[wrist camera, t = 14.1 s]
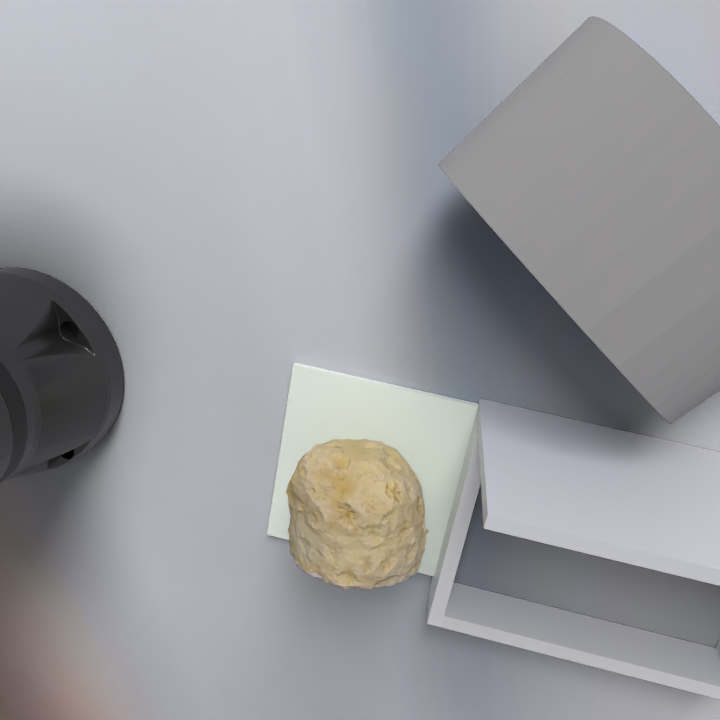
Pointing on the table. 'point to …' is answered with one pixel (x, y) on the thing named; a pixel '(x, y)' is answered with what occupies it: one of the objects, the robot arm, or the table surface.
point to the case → (584, 535)
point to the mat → (377, 438)
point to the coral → (356, 514)
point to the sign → (611, 207)
